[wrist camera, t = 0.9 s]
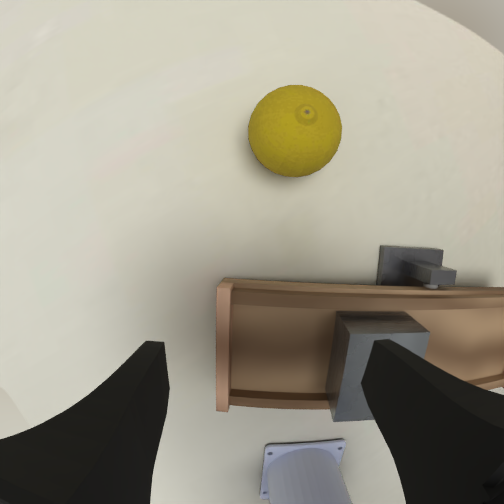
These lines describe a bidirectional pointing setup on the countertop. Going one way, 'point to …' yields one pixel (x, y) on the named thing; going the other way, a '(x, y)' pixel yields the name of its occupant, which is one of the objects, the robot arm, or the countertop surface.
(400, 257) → the pivot stand
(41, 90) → the countertop surface
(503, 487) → the robot arm
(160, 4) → the countertop surface
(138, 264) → the countertop surface
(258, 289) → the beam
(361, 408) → the steel block
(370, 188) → the countertop surface
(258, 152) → the lemon
